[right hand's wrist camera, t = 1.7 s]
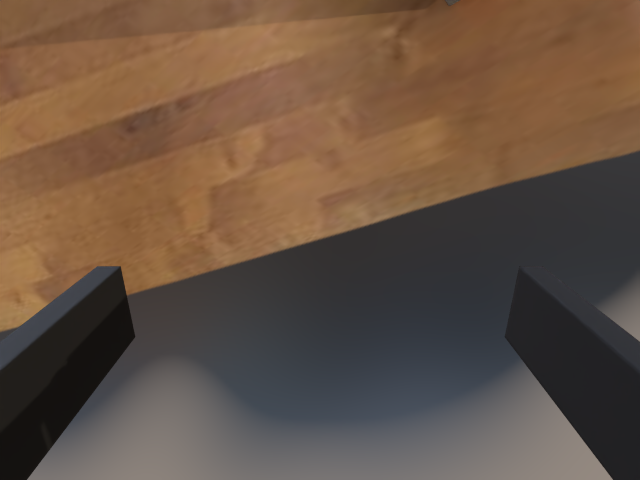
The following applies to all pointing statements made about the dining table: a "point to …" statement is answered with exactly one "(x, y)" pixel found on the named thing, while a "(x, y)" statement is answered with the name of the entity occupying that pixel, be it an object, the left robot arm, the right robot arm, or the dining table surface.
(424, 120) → the dining table surface
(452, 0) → the hard drive box
